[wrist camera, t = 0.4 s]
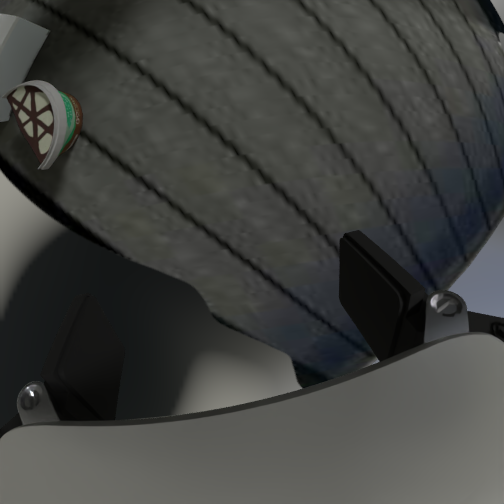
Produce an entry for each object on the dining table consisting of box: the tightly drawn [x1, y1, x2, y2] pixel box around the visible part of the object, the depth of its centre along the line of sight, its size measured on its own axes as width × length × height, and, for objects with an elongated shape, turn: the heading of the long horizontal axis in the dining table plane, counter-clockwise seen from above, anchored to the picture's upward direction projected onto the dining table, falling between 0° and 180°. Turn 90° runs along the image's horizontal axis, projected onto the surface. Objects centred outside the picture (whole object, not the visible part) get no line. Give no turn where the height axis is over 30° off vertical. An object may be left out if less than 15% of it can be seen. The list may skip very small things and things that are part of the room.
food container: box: [1, 80, 83, 170], centre depth 25 cm, size 12×6×10 cm, turn 27°
